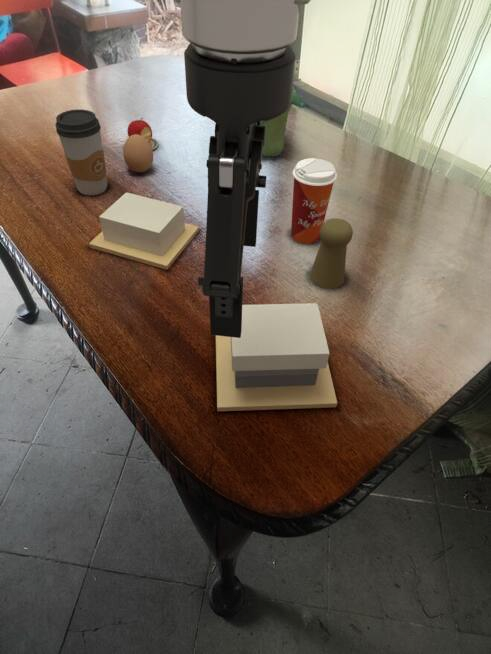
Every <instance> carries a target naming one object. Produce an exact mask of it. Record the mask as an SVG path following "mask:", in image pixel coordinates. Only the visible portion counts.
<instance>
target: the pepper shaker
mask: <svg viewBox="0 0 491 654" xmlns="http://www.w3.org/2000/svg"><path fill="white" fill-rule="evenodd" d="M353 234H354V230H353V227H352V225H351V224H350V222H349V221H347V220H344V219H342V218H329V219H327V220H325V221H324V223H323V225H322V226H321V229H320V238H319V239H320V240H321V242H320V244H319V247H318V250H317V252H316V255H315V259H314V262H313V264H312V266H311V267H312V268H311V270H310V273H309V278H310V280H311V282H312V283H313V284H314V285H316V286H318V287H320V288H323V289H336V288H339V287H341V286H342V285H343V284H344V282H345V275H346V262H347V250H348V249H347V248H348V245H349V243H350V242H351V240H352V238H353Z"/></svg>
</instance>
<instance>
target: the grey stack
mask: <svg viewBox="0 0 491 654" xmlns="http://www.w3.org/2000/svg"><path fill="white" fill-rule="evenodd" d="M215 366H216V411H217V412H238V411H239V412H241V411H268V410H269V411H271V410H296V409H324V408H327V409H328V408H337V405H338V400H337V396H336V392H335V388H334V387H335V386H334V382H333V379H332V375H331V369H330V366H329V361H328V362H327V366H326V368H322V369H288V370H255V371H232V357H231V338H230V337H226V336H217V335H215Z"/></svg>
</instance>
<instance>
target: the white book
mask: <svg viewBox="0 0 491 654" xmlns="http://www.w3.org/2000/svg"><path fill="white" fill-rule="evenodd" d="M230 338H231V357H232V371H255V370H288V369H322V368H326V366H327V362H328V363H329V358H330V355H331V353H330V349H329V345H328V342H327V337H326V332H325V329H324V324H323V321H322V317H321V313H320V307H319V303H317V302H312V303H307V302H306V303H265V304H264V303H263V304H262V303H261V304H260V303H259V304H242V330H241V338H236V337H230Z"/></svg>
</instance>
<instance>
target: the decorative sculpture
mask: <svg viewBox="0 0 491 654" xmlns="http://www.w3.org/2000/svg"><path fill="white" fill-rule="evenodd" d="M300 98H301V97H300V96H299V95H298V94H297V92H296V89H293V88H292V98H291V104H290V106H289V108H288V109H287V110H286V111H285V112H284V113H283V114H282V115H280V116H278V117H276V118H274V119H271V120H268V121H261V125H263V126H266V135H265V144H264V147H263V151H262V157H263V156H264V157H277V156H279V155H281V154H282V152H283V150H284V144H285V136H286V130H287V123H288V118H289V117H288V116H289V113H290V110H291V108H292V105H293V106H296V107H301V105H302V102H301V99H300Z"/></svg>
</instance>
